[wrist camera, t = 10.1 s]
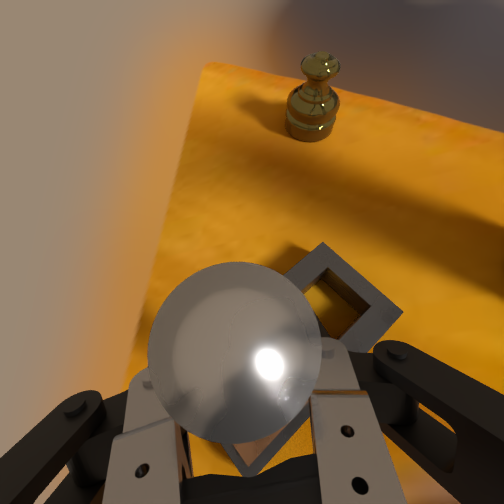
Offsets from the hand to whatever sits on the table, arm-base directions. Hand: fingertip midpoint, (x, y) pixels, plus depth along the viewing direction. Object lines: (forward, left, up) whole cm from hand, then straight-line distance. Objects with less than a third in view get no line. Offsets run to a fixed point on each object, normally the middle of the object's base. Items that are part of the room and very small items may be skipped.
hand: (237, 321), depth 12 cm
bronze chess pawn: (-29, -19, -16) cm, 38 cm away
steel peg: (+1, +2, -6) cm, 6 cm away
